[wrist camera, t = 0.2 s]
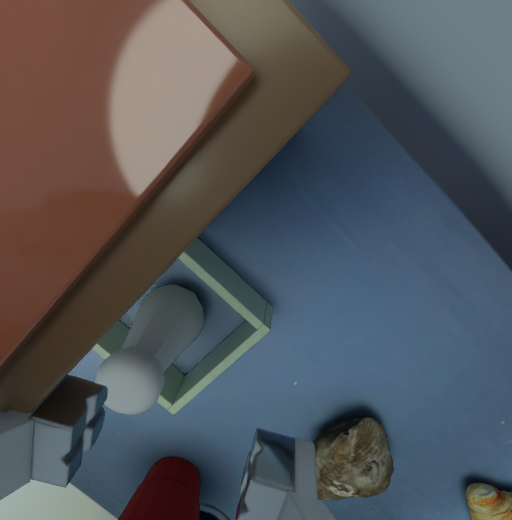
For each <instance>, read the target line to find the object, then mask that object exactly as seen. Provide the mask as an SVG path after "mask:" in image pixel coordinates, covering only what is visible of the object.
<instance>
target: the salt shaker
mask: <svg viewBox="0 0 512 520" xmlns="http://www.w3.org/2000/svg"><path fill="white" fill-rule="evenodd" d="M203 325H204V314H203V307H202V306H201V304H200V302H199V300H198V299H197V297H196V295H195V293H194V292H192V291H190V290H188V289H185V288H183V287H181V286H178V285H166V286H162V287H158V288H155V289H154V290H153V291H152V292H150V293H149V294H148V295H147V296H145V297H144V298H143V301H142V303H141V305H140V308H139V310H138V312H137V315H136V317H135V319H134V322H133V324H132V326H131V329H130V331H129V333H128V336H127V338H126V340H125V342H124V345H123V347H122V349H119V350H117V351H115V352H114V353H113V354H111V355H110V356H109V357H108V358H106V359H105V360H104V361H103V363H102V364H101V366H100V368H99V370H98V373H97V376H96V379H95V383H98V384H101V385H104V386H106V387H107V388H108V395H107V400H106V401H105V402H104V404H105V406H107V407H108V408H110V409H112V410H113V411H115V412H118V413H123V414H128V415H132V414H138V413H144V412H145V411H146V410H148V409H149V408H150V407H152V406H153V405H154V403H155V402H156V401H157V400H158V398H159V395H160V393H161V391H162V388H163V386H164V383H165V380H164V373H163V372H164V371H165V370H166V369H167V368H168V366H169V365H170V364H171V363H172V362H173V361H174V360H175V359H176V358H177V357H178V356H179V355H180V354H181V353H182V352H183V351H184V350H185V349H186V348H187V347H188V346H189V345H190V344H191V343H192V342H193V341H194V340H195V339H196V337H197V336H198V335H199V333H200V331H201V329H202V327H203Z"/></svg>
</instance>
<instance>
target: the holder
mask: <svg viewBox="0 0 512 520" xmlns="http://www.w3.org/2000/svg"><path fill="white" fill-rule="evenodd" d="M178 259H179V260H181V261H182V262H183V263H184V264H185V265H186V266H187V267H188V268H189V269H190V270H192V271H193V272H194V273H195V274H196V275H197V276H198V277H199V278H200V279H202V280H203V281H204V282H205V283H206V284H207V285H208V286H209V287H210V288H212V289H213V290H214V291H215V292H216V293H217V294H218V295H219V296H220V297H222V298H223V299H224V300H225V301H226V302H227V303H228V304H229V305H230V306H232V307H233V308H234V309H235V310H236V311H237V312H238V313H239V314H240V315H242V316H243V317H244V318H245V319H246V321H245V322H244V323H243V324H241V325H240V326H239V327H238V328H237V329H236V330H235V331H234V332H233V333H232V334H230V335H229V336H228V337H227V338H226V339H225V340H224V341H223V342H222V343H220V344H219V345H218V346H217V347H216V348H215V349H214V350H213V351H212V352H211V353H209V354H208V355H207V356H206V357H205V358H204V359H203V360H202V361H201V362H200V363H198V364H197V365H196V366H195V367H194V368H193V369H192V370H191V371H190V372H189V373H187V374H186V375H184V374H183V373H182V372H180V371H179V370H178V369H177V368H176V367H174V366H173V365H172V364H170V365H169V366H168V368H167V369H166V370H165V371H164V372H163V373H164V380H165V383H164V386H163V388H162V391H161V393H160V395H159V398H158V400H157V402H158V403H159V404H160V405H162V406H163V407H164V408H165V409H166V410H167V409H168V411H169V412H170V413H172V414H173V415H174V414H176V413H177V412H178V411H179V410H180V409H181V408H182V407H184V406H185V405H186V404H187V403H188V402H189V401H190V400H192V399H193V398H194V397H195V396H196V395H197V394H198V393H200V392H201V391H202V390H203V389H204V388H205V387H206V386H208V385H209V384H210V383H211V382H212V381H213V380H214V379H216V378H217V377H218V376H219V375H220V374H221V373H222V372H224V371H225V370H226V369H227V368H228V367H229V366H230V365H232V364H233V363H234V362H235V361H236V360H237V359H238V358H240V357H241V356H242V355H243V354H244V353H245V352H246V351H248V350H249V349H250V348H251V347H252V346H253V345H254V344H256V343H257V342H258V341H259V340H260V339H261V338H262V337H264V336H265V335H266V334H267V333H268V332H269V331H270V330H271V320H272V309H273V307H272V306H271V305H270V304H269V303H268V302H266V300H265V299H264V298H263V297H261V296H260V295H259V294H258V293H257V292H256V291H255V290H254V289H253V288H252V287H251V286H250V285H248V284H247V283H246V282H245V281H244V280H243V279H242V278H241V277H240V276H239V275H238V274H237V273H235V272H234V271H233V270H232V269H231V268H230V267H229V266H228V265H227V264H226V263H225V262H224V261H222V260H221V259H220V258H219V257H218V256H217V255H216V254H215V253H214V252H213V251H212V250H211V249H209V248H208V247H207V246H206V245H205V244H204V243H203V242H202V241H201V240H200V239H199V238H198V237H197V238H196V239H195V240H194V241H193V243H192V244H191V245H190V246H189V247H188V248H187V249H186V250H185V251H184V252H183V253H182V254H181V255H180V256H179V257H178ZM129 331H130V329H129V328H128V327H127V326H125V325H124V324H123V323H122V322H121V321H119V320H118V321H117V323H116V324H115V325H114V326H113V327H112V328H111V329H110V330H109V331H108V332H107V333H106V334H105V335H104V336H103V337H102V338H101V339H100V340H99V341H98V343H97V344H96V345H95V346H94V347H93V348H92V350H94V351H95V352H96V353H97V354H98V355H100V356H101V357H102V358H103V359H106V358H108V357H109V356H110V355H111V354H113V353H114V352H115V351H117V350H119V349H122V347H123V345H124V342H125V340H126V338H127V336H128V333H129Z"/></svg>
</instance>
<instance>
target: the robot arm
mask: <svg viewBox="0 0 512 520" xmlns="http://www.w3.org/2000/svg"><path fill="white" fill-rule="evenodd" d="M107 395H108V388H107V387H106V386H104V385H101V384H98V383H94V382H91V381H88V380H85V379H81V378H78V377H75V376H70V375H66V376H65V377H64V378H63V379H62V380H61V381H60V382H59V384H58V385H57V386H56V387H55V388H54V389H53V390H52V391H51V392H50V393H49V394H48V395H47V396H46V397H45V398H44V399H43V400H42V401H41V402H40V404H39V405H38V406H37V407H36V408H35V409H34V410H33V411H32V412H30V413H21V412H18V411H14V410H10V409H9V410H7V411H6V412H5V411H1V410H0V500H1V499H3V498H4V497H6V496H8V495H9V494H11V493H12V492H14V491H16V490H17V489H19V488H20V487H22V486H24V485H25V484H27V483H28V482H30V479H33V480H37V481H41V482H45V483H49V484H53V485H57V486H61V487H65V488H66V486H67V485H68V483H69V482H70V480H71V479H72V477H73V476H74V474H75V473H76V471H77V470H78V468H79V467H80V465H81V460H82V454H83V453H85V452H87V451H89V450H91V448H92V446H93V445H94V443H95V442H96V440H97V438H98V436H99V433H100V431H101V429H102V425H103V422H104V417H105V411H104V409H103V407H102V405H103V404H104V402H105V401H106V400H107ZM240 493H241V498H240V501H239V504H238V508H237V513H236V520H336V519H335V518H334V516H333V514H332V513H331V511H330V510H329V508H328V507H327V505H326V504H325V502H324V501H323V500H320V499H318V494H317V478H316V461H315V445H314V444H313V442H310V441H306V440H302V439H299V438H295V437H294V438H293V437H290V436H286V435H282V434H279V433H275V432H271V431H268V430H264V429H260V428H257V429H256V432H255V435H254V438H253V443H252V449H251V451H250V452H249V454H248V457H247V461H246V464H245V468H244V472H243V477H242V482H241V488H240Z"/></svg>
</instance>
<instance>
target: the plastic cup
mask: <svg viewBox="0 0 512 520" xmlns="http://www.w3.org/2000/svg"><path fill="white" fill-rule="evenodd" d="M200 484H201V482H200V476H199V473H198V471H197V469H196V468H195V467H194V466H193V465H192V464H191V463H190V462H188V461H186V460H184V459H181V458H175V457H169V458H163V459H161V460H159V461H158V462H156V463H155V464H154V466H152V467H151V469H150V471H149V472H148V474H147V475H146V477H145V479H144V480H143V482H142V484H141V485H139V487H138V488H137V490H136V492H135V493H134V495H133V496H132V498H131V500H130V501H129V503H128V504H127V506H126V508H125V509H124V511H123V512H122V514H121V516H120V517H119V519H118V520H199V511H200V504H199V497H200Z"/></svg>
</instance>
